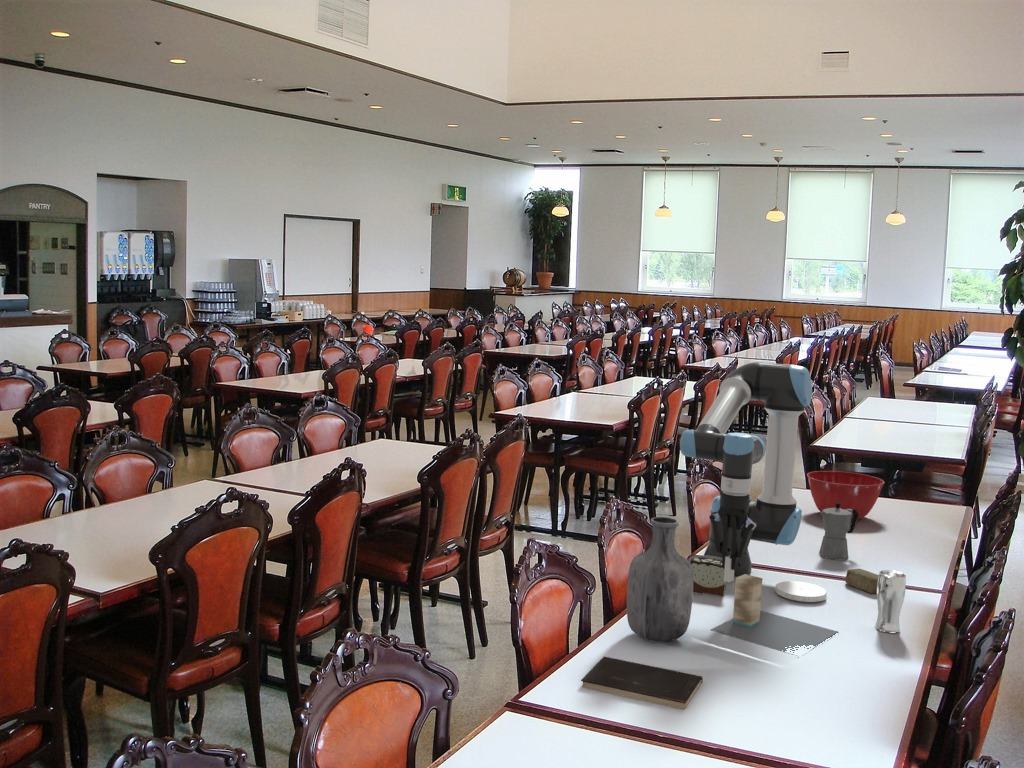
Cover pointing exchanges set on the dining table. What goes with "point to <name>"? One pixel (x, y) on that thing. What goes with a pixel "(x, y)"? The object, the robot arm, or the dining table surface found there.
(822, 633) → the mat
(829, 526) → the coffeepot
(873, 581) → the stone block
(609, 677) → the hardcover book
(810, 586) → the plastic lid
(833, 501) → the mixing bowl
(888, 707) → the dining table surface
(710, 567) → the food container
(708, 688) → the dining table surface
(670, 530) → the vase
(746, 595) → the maple block
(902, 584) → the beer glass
